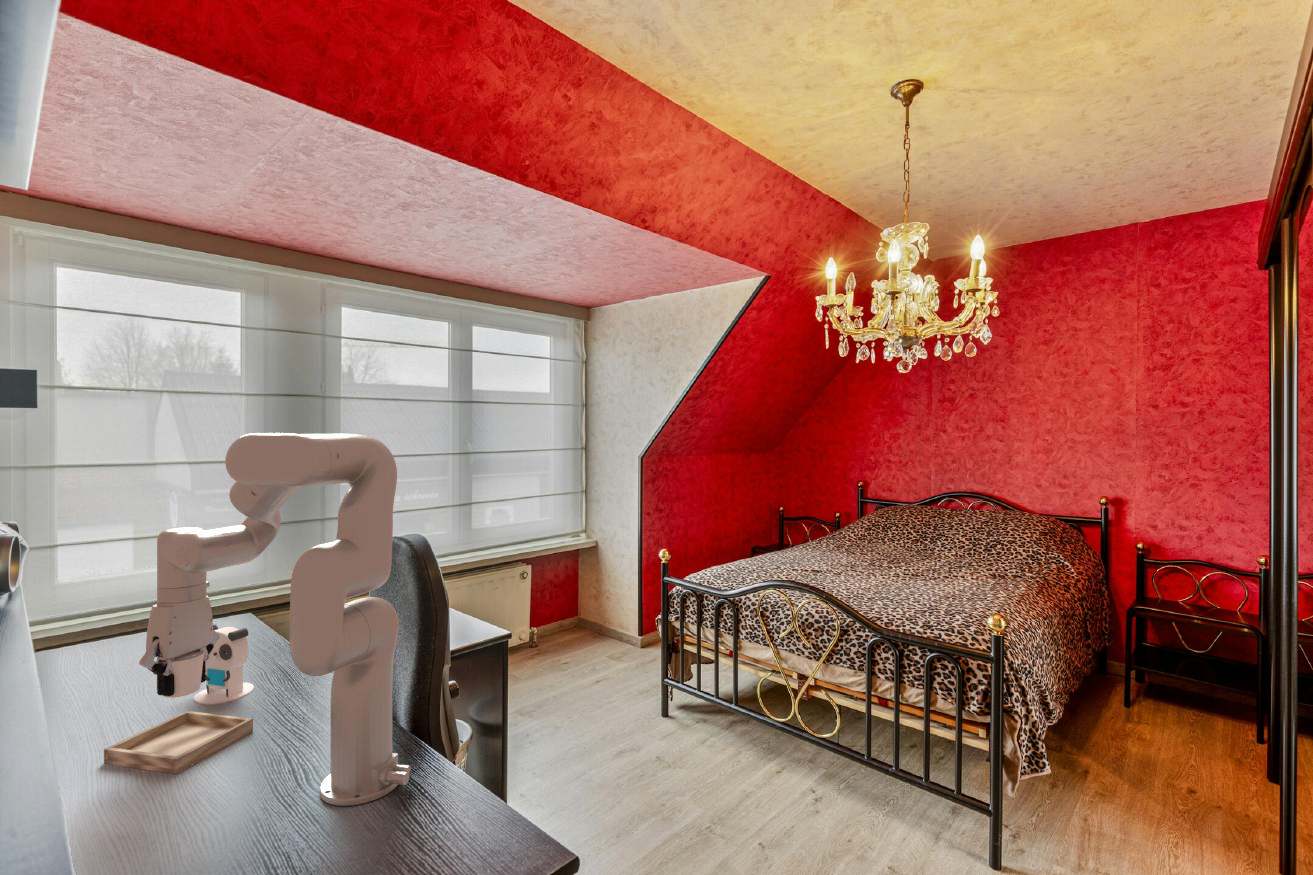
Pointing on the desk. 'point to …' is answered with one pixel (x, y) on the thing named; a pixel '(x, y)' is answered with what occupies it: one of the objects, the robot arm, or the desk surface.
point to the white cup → (187, 673)
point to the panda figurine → (226, 668)
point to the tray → (178, 742)
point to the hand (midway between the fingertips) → (181, 687)
